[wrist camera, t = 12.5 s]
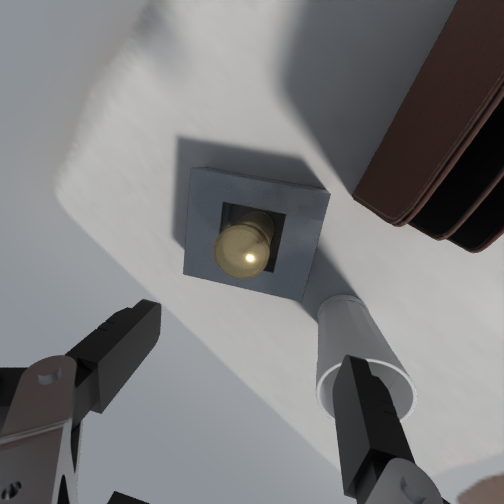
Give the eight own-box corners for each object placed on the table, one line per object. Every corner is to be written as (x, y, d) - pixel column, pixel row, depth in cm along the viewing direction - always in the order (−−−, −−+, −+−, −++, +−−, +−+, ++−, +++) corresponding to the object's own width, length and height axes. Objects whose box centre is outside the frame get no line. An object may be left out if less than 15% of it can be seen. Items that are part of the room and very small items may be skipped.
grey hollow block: (204, 167, 29) (190, 167, 26) (326, 189, 28) (330, 194, 24) (195, 261, 34) (183, 274, 30) (301, 285, 32) (301, 301, 29)
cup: (301, 298, 33) (302, 369, 22) (365, 280, 31) (403, 349, 20) (322, 348, 35) (332, 436, 24) (383, 334, 33) (427, 424, 21)
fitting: (238, 204, 30) (215, 221, 22) (280, 212, 30) (273, 233, 21) (233, 244, 32) (210, 273, 24) (272, 252, 32) (262, 285, 23)
